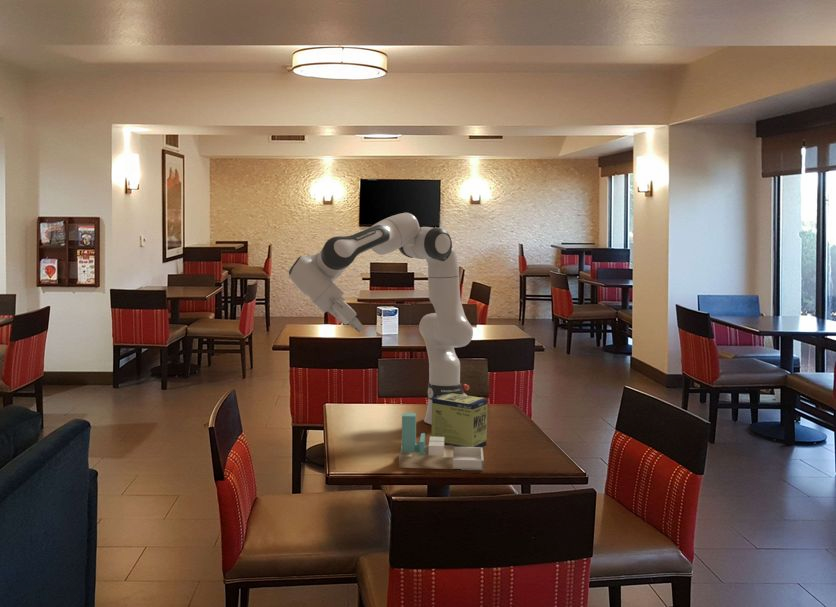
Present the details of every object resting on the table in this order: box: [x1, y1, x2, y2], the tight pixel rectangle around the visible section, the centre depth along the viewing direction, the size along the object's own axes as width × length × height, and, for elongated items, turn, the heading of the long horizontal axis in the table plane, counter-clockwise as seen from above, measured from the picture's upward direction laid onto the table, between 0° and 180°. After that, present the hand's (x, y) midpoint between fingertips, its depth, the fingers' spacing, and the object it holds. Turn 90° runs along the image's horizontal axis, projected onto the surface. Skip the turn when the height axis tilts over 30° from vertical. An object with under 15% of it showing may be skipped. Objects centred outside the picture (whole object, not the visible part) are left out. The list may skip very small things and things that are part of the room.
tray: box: [452, 446, 485, 471], centre depth 255 cm, size 9×14×3 cm, turn 177°
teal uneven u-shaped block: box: [401, 412, 426, 455], centre depth 255 cm, size 7×10×11 cm
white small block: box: [428, 442, 444, 456], centre depth 252 cm, size 4×4×3 cm
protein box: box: [430, 393, 488, 448], centre depth 274 cm, size 10×16×16 cm
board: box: [398, 444, 453, 470], centre depth 255 cm, size 16×13×4 cm
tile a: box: [428, 436, 445, 443], centre depth 258 cm, size 4×4×3 cm
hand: (361, 330), depth 265 cm, fingers open, 8 cm apart
